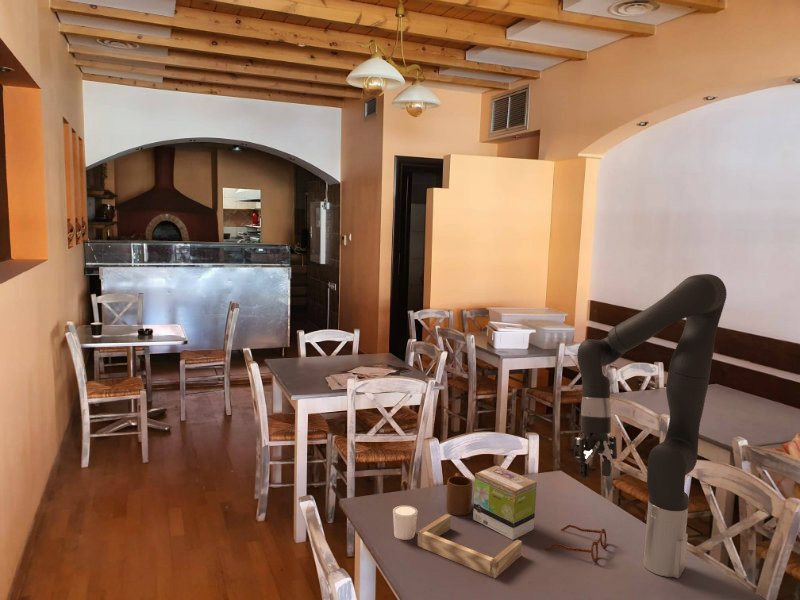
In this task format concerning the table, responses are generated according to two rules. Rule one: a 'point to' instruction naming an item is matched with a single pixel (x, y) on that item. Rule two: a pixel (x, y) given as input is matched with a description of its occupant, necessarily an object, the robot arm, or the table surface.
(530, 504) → the tea box
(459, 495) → the mug
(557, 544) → the glasses
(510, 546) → the corral
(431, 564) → the table surface
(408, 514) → the white cup
